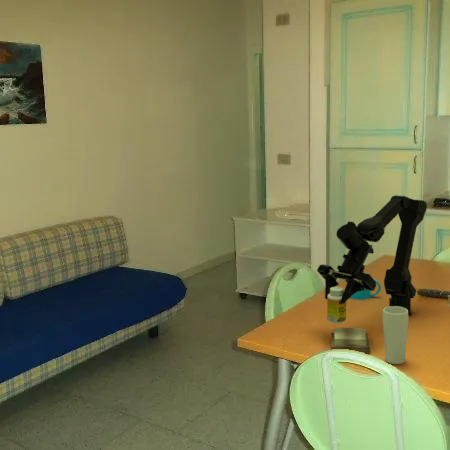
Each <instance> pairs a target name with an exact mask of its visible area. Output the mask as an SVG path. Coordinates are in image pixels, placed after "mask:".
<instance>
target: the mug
mask: <svg viewBox="0 0 450 450" xmlns="http://www.w3.org/2000/svg"><path fill="white" fill-rule="evenodd" d="M365 273H366V274H369V273H367V272H365ZM373 279H374V280H375V282H376V286H377V287H378V288H377V291H376V292H374V293H371V292H372V291H371V290H366V289H365V288H364V289H365V290H364V291H358V292H356V293H355V294H353V295H352V296H351V297H350V298H349V299H351V300H352V299H353V300H358V301H359V300H360V301H362V300H363V301H364V300H369V299H370V298H371V297H375V296H377V295H378V294H379V293H380V292H381V290H382V289H381V288H382V286H381V283H380V282H379V281H378V280H377V279H375V278H373Z"/></svg>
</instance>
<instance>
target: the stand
mask: <svg viewBox="0 0 450 450" xmlns="http://www.w3.org/2000/svg"><path fill="white" fill-rule="evenodd" d="M330 338H331V339H330V342H331V343H330V348H331V349H349V350H355V351H359V352H364V353H368V354H367V355H371V346H370V345H371V344H370V338H369V333H368V332H366V329H365V328H364V327H334V331H332V332H330Z"/></svg>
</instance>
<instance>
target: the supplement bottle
mask: <svg viewBox="0 0 450 450" xmlns="http://www.w3.org/2000/svg"><path fill="white" fill-rule="evenodd" d="M344 290H345V289H344V287H341V286H335V287H332V288H330V294H328V296H327V299H326V303H327V308H326V310H327V314H326V315H327V316H326V318H327V321H328V322H329V323H332V324H342V323H344V322H345V321H346V319H347V317H346V316H347V301H346V302H345V303H344V304H342V303H341V299H342V295H343V293H344Z"/></svg>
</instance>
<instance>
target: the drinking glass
mask: <svg viewBox="0 0 450 450" xmlns="http://www.w3.org/2000/svg"><path fill="white" fill-rule="evenodd" d="M382 329H383V333H382V334H383V341H384V342H383V344H384V356H385V357H384V358H385V361H386V362H387V363H388V364H391V365H401V364H404V363H405V361H406V351H407V350H406V349H407V339H408V330H409V315H408V310H407V309H406V308H403V307H399V306H389V305H388V306H385V307H384V308H383V310H382Z"/></svg>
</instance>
